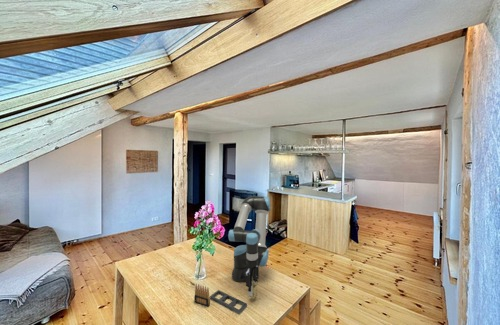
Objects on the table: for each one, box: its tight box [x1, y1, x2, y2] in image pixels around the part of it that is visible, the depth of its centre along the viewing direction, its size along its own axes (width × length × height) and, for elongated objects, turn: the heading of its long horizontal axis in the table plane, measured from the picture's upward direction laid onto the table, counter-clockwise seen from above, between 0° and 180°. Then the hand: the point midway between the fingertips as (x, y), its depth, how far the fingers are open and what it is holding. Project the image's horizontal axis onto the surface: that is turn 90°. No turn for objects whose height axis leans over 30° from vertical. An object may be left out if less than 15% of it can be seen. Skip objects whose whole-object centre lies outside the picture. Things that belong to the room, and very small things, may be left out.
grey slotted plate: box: [209, 289, 248, 315], centre depth 129 cm, size 8×24×2 cm, turn 56°
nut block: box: [248, 283, 258, 300], centre depth 131 cm, size 4×4×7 cm
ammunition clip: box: [193, 283, 211, 308], centre depth 128 cm, size 11×2×12 cm, turn 67°
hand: (252, 293), depth 131 cm, fingers closed on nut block, 4 cm apart
